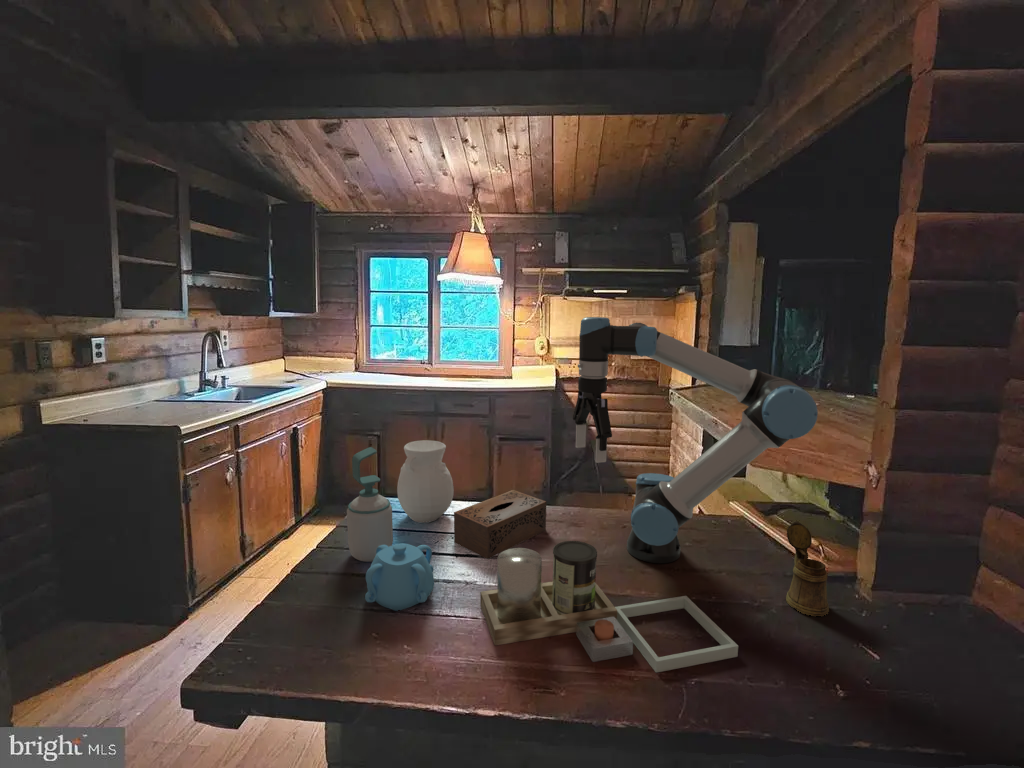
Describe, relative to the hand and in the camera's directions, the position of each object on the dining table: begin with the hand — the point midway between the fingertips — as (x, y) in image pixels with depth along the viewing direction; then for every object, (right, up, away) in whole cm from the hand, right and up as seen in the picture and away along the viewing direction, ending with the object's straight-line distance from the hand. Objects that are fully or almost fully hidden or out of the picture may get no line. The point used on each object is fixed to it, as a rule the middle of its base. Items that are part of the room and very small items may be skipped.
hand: (590, 454), depth 142 cm
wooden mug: (+51, -35, -11) cm, 63 cm away
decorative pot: (-48, -34, -12) cm, 60 cm away
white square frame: (+14, -37, -25) cm, 47 cm away
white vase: (-50, -26, +35) cm, 66 cm away
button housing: (-1, -37, -29) cm, 47 cm away
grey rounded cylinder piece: (-19, -34, -20) cm, 44 cm away
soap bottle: (-61, -30, +9) cm, 69 cm away
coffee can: (-7, -34, -17) cm, 38 cm away
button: (-1, -37, -29) cm, 47 cm away
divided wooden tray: (-13, -35, -18) cm, 42 cm away
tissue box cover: (-24, -29, +22) cm, 43 cm away
